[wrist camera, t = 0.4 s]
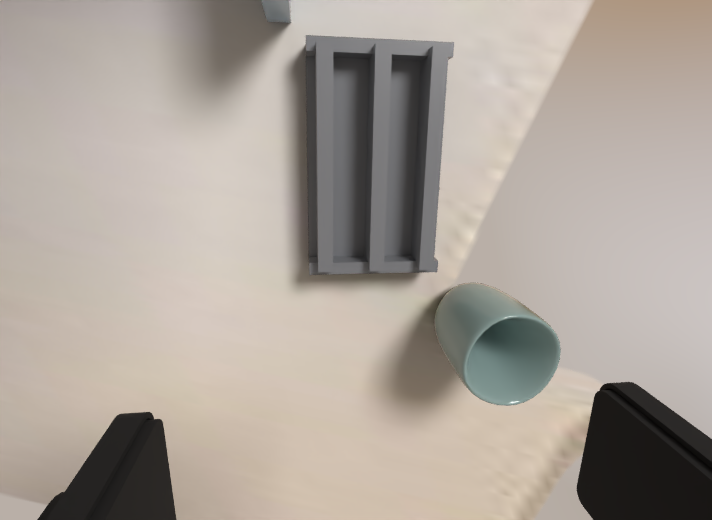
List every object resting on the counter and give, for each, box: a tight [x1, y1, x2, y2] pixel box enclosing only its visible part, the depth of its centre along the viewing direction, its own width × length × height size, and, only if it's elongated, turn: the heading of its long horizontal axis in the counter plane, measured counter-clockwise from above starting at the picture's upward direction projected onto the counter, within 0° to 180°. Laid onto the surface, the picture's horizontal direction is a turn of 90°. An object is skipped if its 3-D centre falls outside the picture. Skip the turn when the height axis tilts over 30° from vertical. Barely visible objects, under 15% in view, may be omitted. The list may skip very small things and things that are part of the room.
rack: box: [306, 35, 454, 275], centre depth 34 cm, size 18×11×4 cm, turn 0°
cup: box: [434, 283, 561, 406], centre depth 36 cm, size 8×8×10 cm
